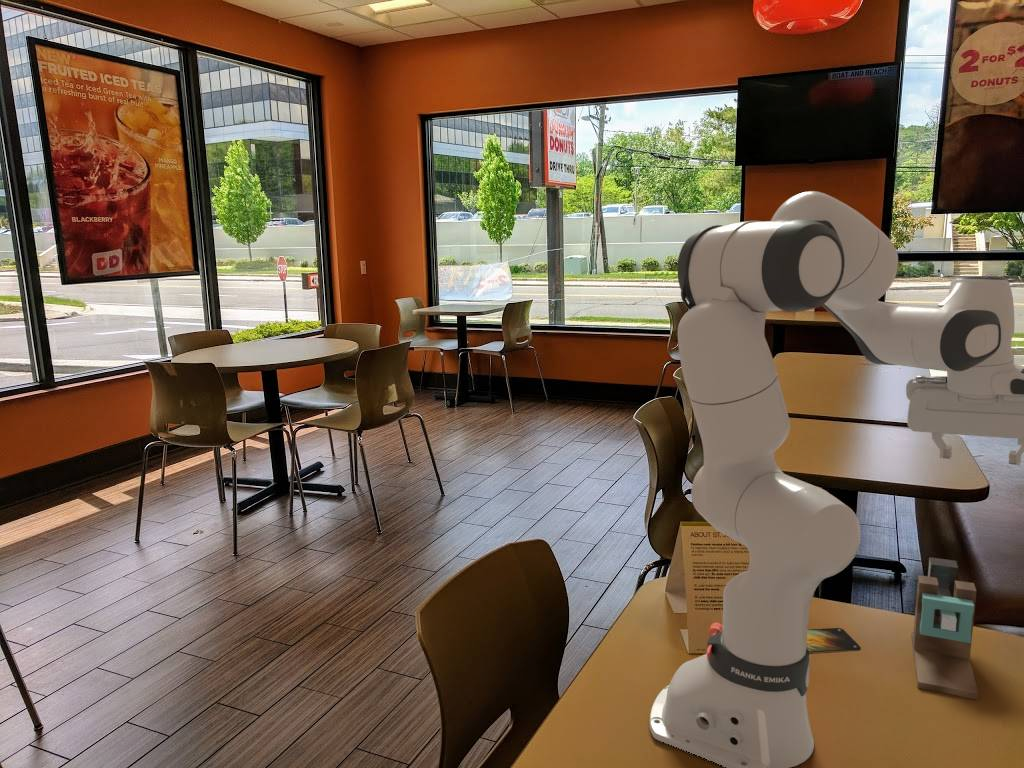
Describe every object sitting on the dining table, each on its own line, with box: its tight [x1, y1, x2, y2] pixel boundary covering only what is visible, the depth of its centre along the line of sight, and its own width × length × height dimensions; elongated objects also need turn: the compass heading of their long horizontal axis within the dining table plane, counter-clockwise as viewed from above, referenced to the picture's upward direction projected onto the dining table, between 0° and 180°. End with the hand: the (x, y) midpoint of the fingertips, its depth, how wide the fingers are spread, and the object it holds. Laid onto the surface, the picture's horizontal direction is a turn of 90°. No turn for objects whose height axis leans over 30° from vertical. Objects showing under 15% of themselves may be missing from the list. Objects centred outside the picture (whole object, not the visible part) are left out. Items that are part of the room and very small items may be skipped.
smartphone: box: [806, 627, 862, 654], centre depth 128 cm, size 7×1×15 cm
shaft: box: [927, 556, 959, 631], centre depth 121 cm, size 4×14×7 cm, turn 155°
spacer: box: [919, 593, 975, 643], centre depth 119 cm, size 7×2×6 cm, turn 65°
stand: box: [910, 574, 979, 701], centre depth 118 cm, size 8×16×13 cm, turn 155°
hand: (979, 460), depth 118 cm, fingers open, 8 cm apart
